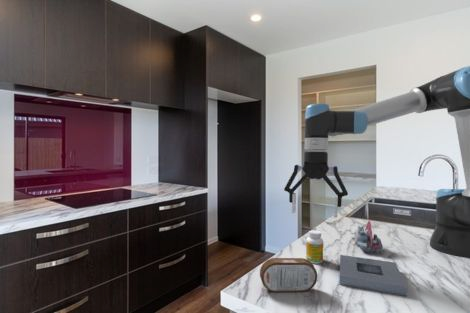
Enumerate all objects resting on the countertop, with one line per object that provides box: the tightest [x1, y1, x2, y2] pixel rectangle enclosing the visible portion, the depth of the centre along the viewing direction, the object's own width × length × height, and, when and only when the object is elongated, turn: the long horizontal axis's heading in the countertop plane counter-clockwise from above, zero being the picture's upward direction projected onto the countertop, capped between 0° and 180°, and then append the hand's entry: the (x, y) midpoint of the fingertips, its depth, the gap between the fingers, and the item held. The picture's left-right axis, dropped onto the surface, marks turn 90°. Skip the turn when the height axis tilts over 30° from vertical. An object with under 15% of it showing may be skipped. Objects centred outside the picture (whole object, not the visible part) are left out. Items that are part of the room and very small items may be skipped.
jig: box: [339, 254, 408, 297], centre depth 79 cm, size 16×16×2 cm
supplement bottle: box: [305, 229, 324, 265], centre depth 90 cm, size 5×5×10 cm
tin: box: [259, 257, 318, 293], centre depth 71 cm, size 15×3×8 cm, turn 92°
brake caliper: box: [350, 220, 384, 254], centre depth 101 cm, size 11×11×12 cm
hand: (314, 214), depth 90 cm, fingers open, 13 cm apart
